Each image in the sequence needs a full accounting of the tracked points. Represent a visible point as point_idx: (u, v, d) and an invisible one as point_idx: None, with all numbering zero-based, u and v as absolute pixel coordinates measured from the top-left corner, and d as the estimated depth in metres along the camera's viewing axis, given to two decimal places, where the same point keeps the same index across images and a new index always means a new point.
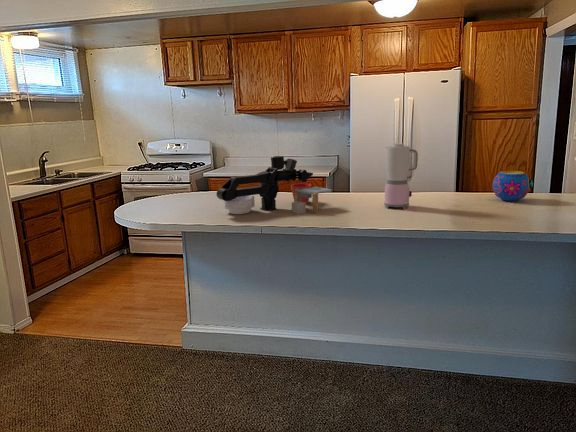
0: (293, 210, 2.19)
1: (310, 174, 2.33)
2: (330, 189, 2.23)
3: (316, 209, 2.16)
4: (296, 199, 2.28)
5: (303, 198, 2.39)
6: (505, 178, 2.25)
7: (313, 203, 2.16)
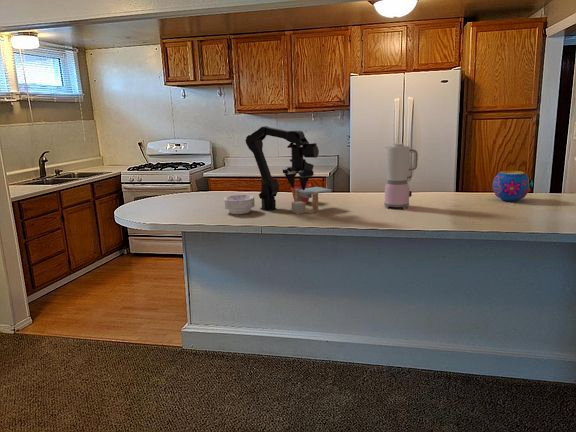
0: (293, 210, 2.19)
1: (304, 186, 2.12)
2: (330, 189, 2.23)
3: (316, 209, 2.16)
4: (296, 199, 2.28)
5: (303, 198, 2.39)
6: (505, 178, 2.25)
7: (313, 203, 2.16)
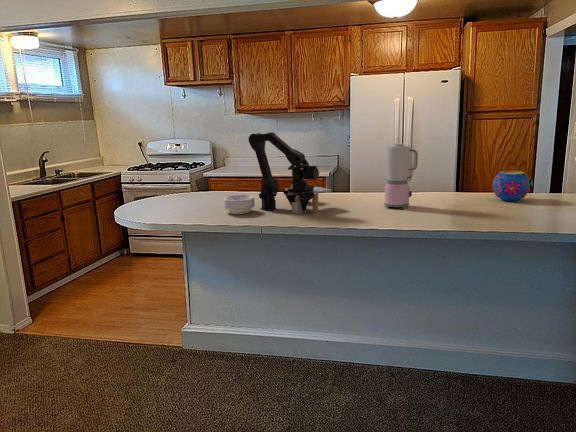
0: (293, 210, 2.19)
1: (304, 207, 2.15)
2: (330, 189, 2.23)
3: (316, 209, 2.16)
4: (296, 199, 2.28)
5: None
6: (505, 178, 2.25)
7: (313, 203, 2.16)
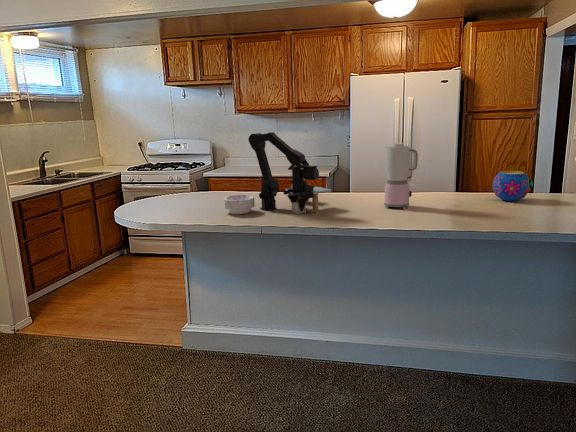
0: (293, 210, 2.19)
1: (302, 207, 2.16)
2: (330, 189, 2.23)
3: (316, 209, 2.16)
4: None
5: None
6: (505, 178, 2.25)
7: (313, 203, 2.16)
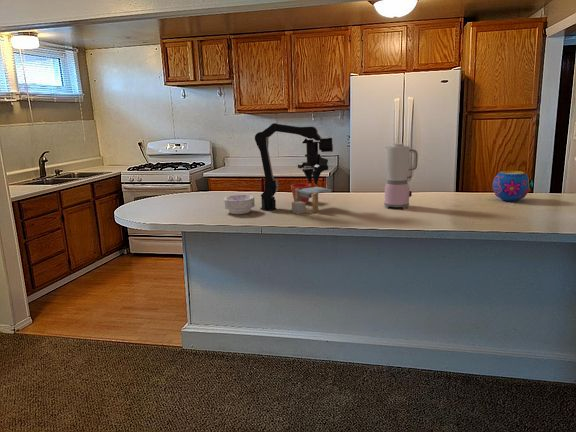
0: (293, 210, 2.19)
1: (316, 180, 2.19)
2: (330, 189, 2.23)
3: (316, 209, 2.16)
4: (296, 199, 2.28)
5: (303, 198, 2.39)
6: (505, 178, 2.25)
7: (313, 203, 2.16)
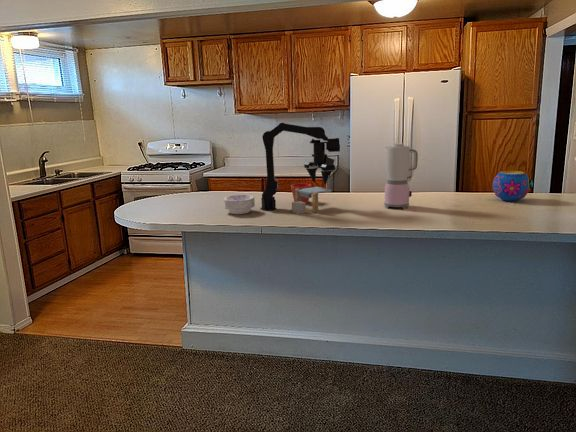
0: (293, 210, 2.19)
1: (325, 180, 2.20)
2: (330, 189, 2.23)
3: (316, 209, 2.16)
4: (296, 199, 2.28)
5: (303, 198, 2.39)
6: (505, 178, 2.25)
7: (313, 203, 2.16)
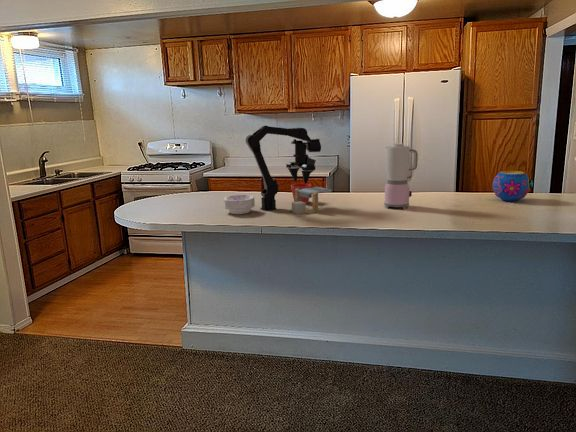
0: (293, 210, 2.19)
1: (306, 180, 2.25)
2: (330, 189, 2.23)
3: (316, 209, 2.16)
4: (296, 199, 2.28)
5: (303, 198, 2.39)
6: (505, 178, 2.25)
7: (313, 203, 2.16)
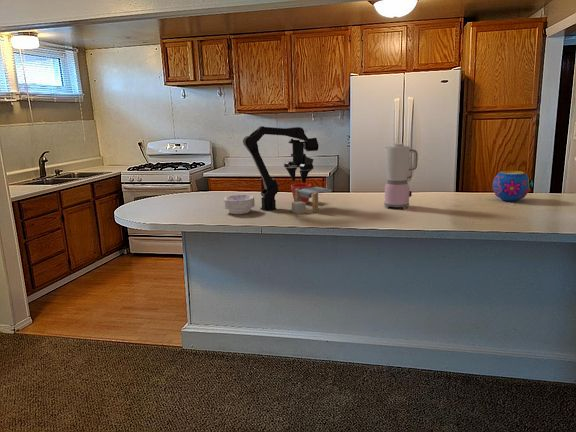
0: (293, 210, 2.19)
1: (304, 179, 2.25)
2: (330, 189, 2.23)
3: (316, 209, 2.16)
4: (296, 199, 2.28)
5: (303, 198, 2.39)
6: (505, 178, 2.25)
7: (313, 203, 2.16)
